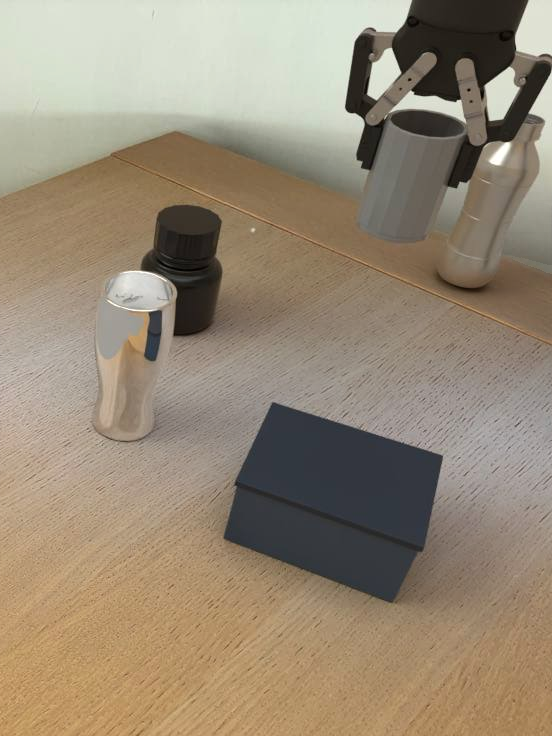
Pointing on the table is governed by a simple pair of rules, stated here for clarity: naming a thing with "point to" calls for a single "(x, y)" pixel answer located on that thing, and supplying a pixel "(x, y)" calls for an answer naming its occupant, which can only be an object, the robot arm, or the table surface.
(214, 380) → the table surface
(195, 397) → the table surface
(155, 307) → the beer glass
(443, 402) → the table surface
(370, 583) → the storage box
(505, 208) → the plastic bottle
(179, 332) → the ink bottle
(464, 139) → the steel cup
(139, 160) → the table surface
